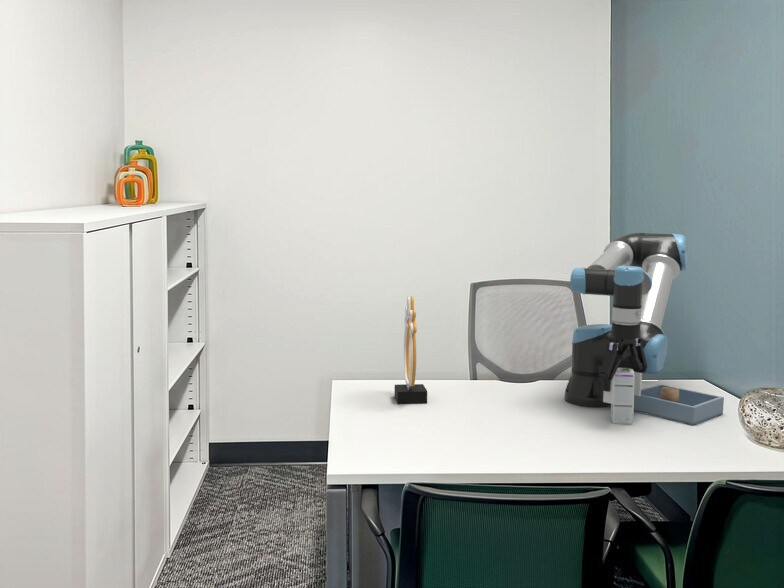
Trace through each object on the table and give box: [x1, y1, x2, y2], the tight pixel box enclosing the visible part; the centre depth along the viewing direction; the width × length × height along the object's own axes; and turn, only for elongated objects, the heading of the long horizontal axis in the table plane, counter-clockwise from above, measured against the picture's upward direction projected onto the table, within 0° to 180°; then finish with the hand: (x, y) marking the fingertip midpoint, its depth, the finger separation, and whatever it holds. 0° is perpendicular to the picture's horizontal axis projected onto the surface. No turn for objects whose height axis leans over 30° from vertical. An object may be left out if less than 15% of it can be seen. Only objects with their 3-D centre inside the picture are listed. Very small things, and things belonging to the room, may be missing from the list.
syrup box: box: [610, 368, 635, 425], centre depth 214 cm, size 6×6×14 cm
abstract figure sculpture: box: [394, 296, 428, 405], centre depth 232 cm, size 17×9×32 cm, turn 6°
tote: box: [634, 383, 725, 426], centre depth 223 cm, size 20×17×5 cm
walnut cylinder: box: [660, 386, 679, 403], centre depth 220 cm, size 5×5×7 cm
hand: (622, 398), depth 213 cm, fingers open, 13 cm apart
